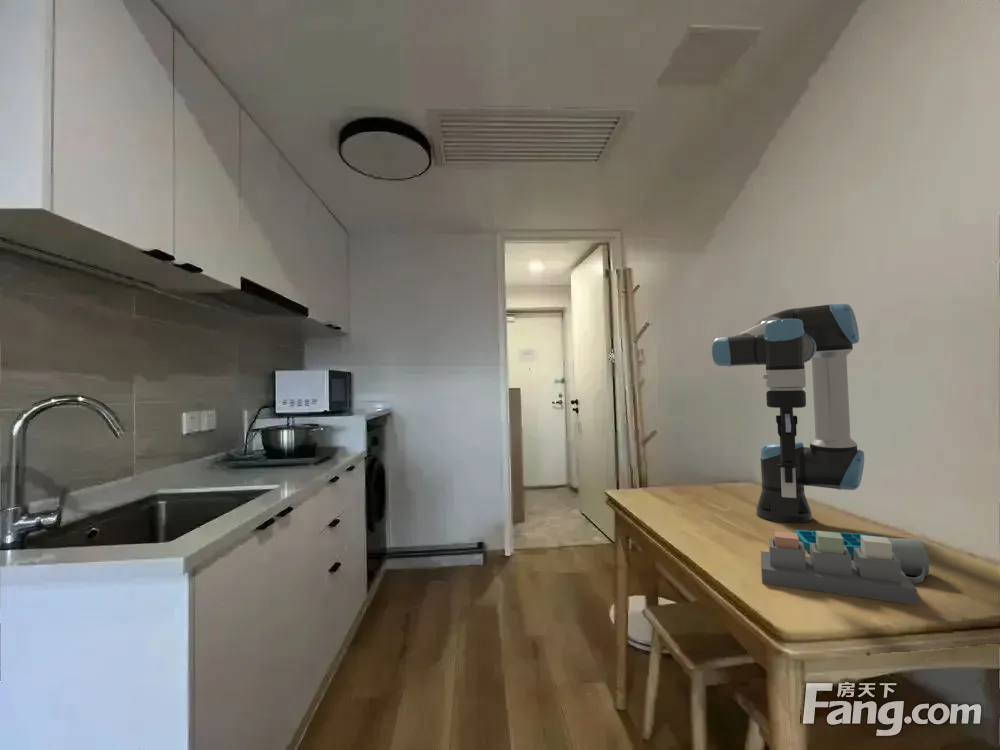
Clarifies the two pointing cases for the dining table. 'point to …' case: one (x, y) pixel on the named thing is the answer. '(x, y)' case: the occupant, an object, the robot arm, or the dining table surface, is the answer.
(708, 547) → the dining table surface
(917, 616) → the dining table surface
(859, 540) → the ice cube tray
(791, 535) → the terracotta key
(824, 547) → the sage key
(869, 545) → the ivory key
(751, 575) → the dining table surface
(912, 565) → the ceramic mug
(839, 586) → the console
